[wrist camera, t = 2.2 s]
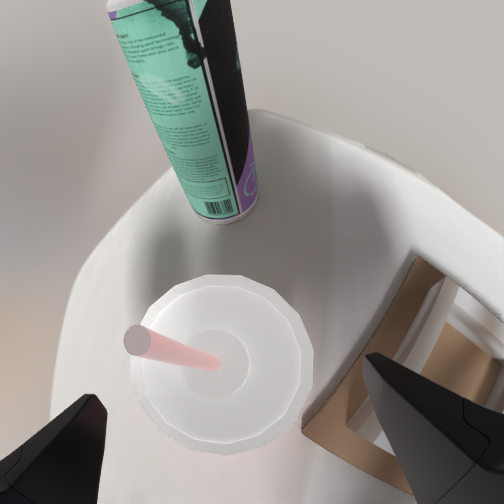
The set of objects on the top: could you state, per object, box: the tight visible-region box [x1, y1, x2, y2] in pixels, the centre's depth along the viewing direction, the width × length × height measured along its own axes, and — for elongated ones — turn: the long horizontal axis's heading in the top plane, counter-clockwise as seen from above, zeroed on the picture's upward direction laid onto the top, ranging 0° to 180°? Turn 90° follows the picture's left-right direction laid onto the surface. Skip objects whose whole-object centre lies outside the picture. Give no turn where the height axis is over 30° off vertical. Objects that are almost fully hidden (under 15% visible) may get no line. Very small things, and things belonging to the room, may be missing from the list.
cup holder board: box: [301, 256, 504, 495], centre depth 12 cm, size 14×14×4 cm
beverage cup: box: [124, 274, 314, 455], centre depth 10 cm, size 6×6×14 cm
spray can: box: [106, 0, 258, 225], centre depth 13 cm, size 6×6×20 cm
